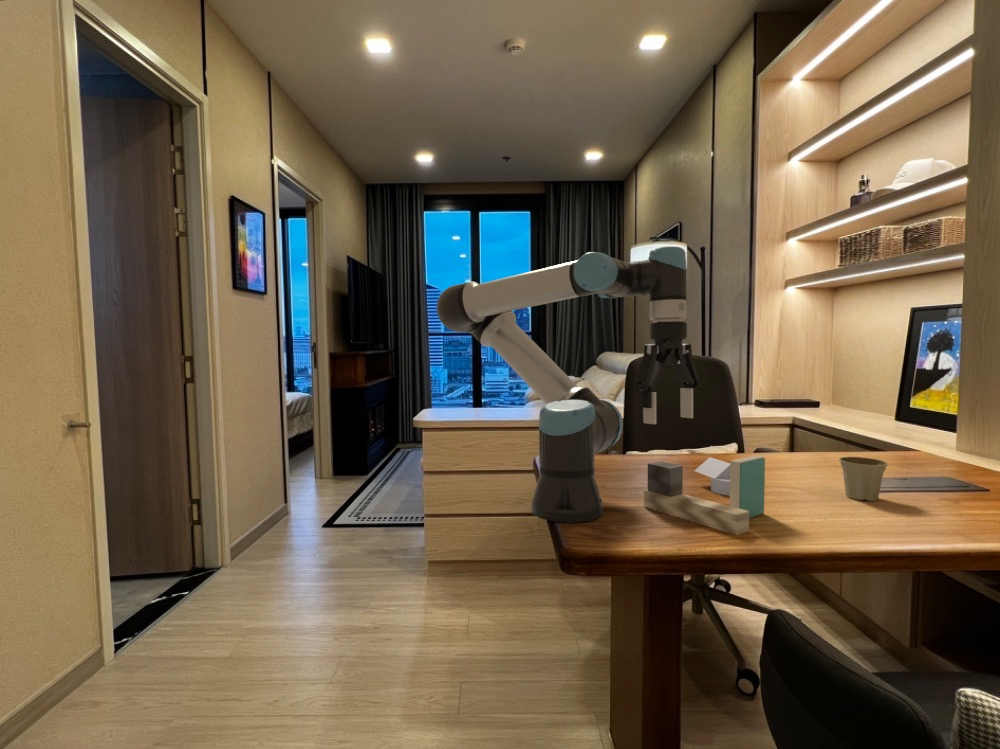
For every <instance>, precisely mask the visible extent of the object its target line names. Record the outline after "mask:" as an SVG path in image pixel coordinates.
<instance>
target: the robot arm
mask: <svg viewBox="0 0 1000 749" xmlns="http://www.w3.org/2000/svg"><path fill="white" fill-rule="evenodd" d="M687 272H688V268H687V255H686V251H685V249H684V248H682V247H680V246H660V247H656V248H653V249H651V250H650V252H649V255H648V259H644V260H637V261H635V260H634V261H627V262H626V261H623V260H621V259H617V258H615V257H612V256H610V255H608V254H606V253H604V252H595V251H589V252H586V253H584V254H583V255H581V256H580V257H579V258H578V259H577V260H573V261H568V262H564V263H561V264H556V265H552V266H548V267H545V268H541V269H536V270H532V271H528V272H523V273H520V274H519V273H518V274H516V275H511V276H507V277H503V278H499V279H494V280H491V281H487V282H481V283H478V282H476V281H468V282H464V283H459V284H455V285H451V286H449V287H447V288H445V290H443V291H442V292H441V294H440V295H439V297H438V299H437V302H436V303H437V304H436V313H437V317H438V319H439V321H440V322H441V324H442V325H443V326H444V327H445V328H447V329H448V330H451V331H453V332H456V333H467V334H468V333H469V334H471V335H472V336H474V338H475V339H476V340H477V342H479V343H480V345H482V346H483V347H486V348H487V347H492V349H493V350H494V351H495V352H496V353H497V354H498V355H499V356H500V358H502V360H504V361H505V363H507V364H508V366H509V367H510V368H512V370H513V371H514V372H515V373H516V374H517V375H518V376H519V378H521V380H522V381H523V382H524V383H526V385H527V386H528V387H529V388H530V389H531V390H532V391H533V392H534V394H535V395H537V396H538V398H540V399H541V401H542V402H543V403H544V405H543V406H542V407H541V409H540V411H539V419H538V422H537V424H538V442H539V444H538V445H539V446H538V447H539V448H538V449H539V450H538V451H539V453H538V454H539V459H538V461H539V463H538V464H539V477H538V479H537V483H536V486H535V490H534V494H533V497H532V498H531V503H530V504H531V505H530V506H531V508H530V510H531V513H532V514H533V515H534V516H535V517H537V518H539V519H542V520H546V521H551V522H558V523H584V522H589V521H594V520H596V519H598V518H601V517H602V516H603V513H604V504H603V499H602V497H601V495H600V492H599V491H600V490H599V488H598V484H597V481H596V478H595V477H596V476H595V455H596V454H598V453H601V452H605V451H606V450H609V449H611V448H612V446H614V445H615V444H616V443H617V442H618V441H619V440H620V438H621V436H622V434H623V430H624V423H623V422H624V420H623V416H622V415H621V412H620V411H619V409H618V408H617V406H615V405H614V404H613V403H612V402H610V401H607V400H605V399H600V398H599V397H598V396H597V395H596V393H594V392H593V390H591V389H590V388H589V387H588V386H578V385H577V384H576V383H575V381H573V380H572V379H571V378H570V377H569V376H568V375H567V374H566V372H565V371H563V370H562V369H561V368H560V366H559V365H557V363H555V361H554V360H552V359H551V357H550V356H549V355H548V354H546V352H545V351H544V350H543V349H542V348H541V347H539V345H538V344H537V343H536V342H535V341H534V340H533V339H531V337H530V336H529V335H528V334H527V333H526V332H525V331H524V330H523V329H522V328H521V327H520V326H519V325H518V324H517V323H516V322H517V316H516V314H515V312H514V311H516V310H522V309H527V308H532V307H536V306H537V307H538V306H541V305H546V304H550V303H556V302H559V301H564V300H565V301H566V300H570V299H573V298H574V299H575V298H578V297H579V298H580V297H585V296H587V297H588V296H590V295H595V294H597V296H598V297H599V298H600V299H601V298H602V299H616V298H624V297H625V298H626V297H637V296H649V320H650V321H652V322H651V323H650V324H649V338H650V340H652V341H654V343H645V344H644V346H643V348H644V349H643V356H642V360H641V362H640V363H641V364H640V367H639V371H638V375H637V377H636V380H635V384H634V389H636V390H637V392H638V393H641V394H642V395H641V396H642V398H641V399H642V402H641V403H642V410H643V411H642V416H643V417H642V420H643V421H642V422H643V424H649V425H657V392H656V391H655V392H654V390H655V388H656V386H657V383H658V382H659V380H660V378H661V375H662V374H663V372H664V369H665V368H666V367H668V366H671V367H672V368H673V370H674V372H675V373H676V376H677V378H678V380H679V382H680V383H681V386H682V387H680V392H679V394H680V396H679V397H680V406H679V407H680V418H685V419H694V389H698V388H699V385H700V383H701V381H700V378H699V374H698V370H697V367H696V364H695V360H694V357H693V354H692V353H693V352H692V344H691V343H683V340H686V339H687V338H688V324H687V322H686V321H685V320H686V319H687V314H688V313H687V310H688V309H687V307H688V304H687V280H688V279H687V278H688V276H687V274H688V273H687Z"/></svg>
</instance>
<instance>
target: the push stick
mask: <svg viewBox="0 0 1000 749" xmlns="http://www.w3.org/2000/svg"><path fill="white" fill-rule="evenodd" d="M683 470H684V469H683V465H679V464H674V463H671V462H670V463H669V462H666V461H655V462H649V463H647V489H646V488H645V489H644V490H643V507H644V506H645V507H644V508H646V507H649V508H652V509H656V510H658V511H657V512H659V511H661V512H660V513H662V512H664V513H663V514H665V513H667V514H666V515H669V514H671V515H670V516H672V515H674V516H673V517H675V516H677V517H676V518H678V517H680V518H679V519H682V518H683V520H685V519H686V521H688V520H689V522H691V523H695V522H696V524H699V525H701V526H702V525H703V526H705V527H709V528H711V529H716V530H717V531H718V530H719V531H721V532H725V533H728V534H731V535H734V536H738V535H742V534H744V533H746V532H749V531H750V518H749V511H747V510H743V509H739V508H735V507H731V506H730V505H727V504H724V503H723V504H722V503H719V502H715V501H713V500H712V501H710V500H709V499H708V500H707V499H703V498H699V497H696V496H692V495H688V494H684V493H683V486H684V485H683V474H684V473H683V472H684V471H683ZM649 508H648V509H649ZM652 509H651V510H652Z"/></svg>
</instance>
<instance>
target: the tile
mask: <svg viewBox="0 0 1000 749" xmlns="http://www.w3.org/2000/svg"><path fill="white" fill-rule="evenodd" d="M729 463H730V496H729V506H731V507H735V508H739V509H743V510H747V511H749V519H751V518H755V517H757V516H760V515H764V514H765V484H766V483H765V481H766V480H765V478H766V477H765V475H766V474H765V473H766V458H765V457H764V456H762V455H761V456H760V455H755V454H754V455H751V456H746V457H745V456H744V457H742V458H736V459H732V460H730V461H729Z"/></svg>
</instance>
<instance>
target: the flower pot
mask: <svg viewBox="0 0 1000 749" xmlns="http://www.w3.org/2000/svg"><path fill="white" fill-rule="evenodd" d="M838 461H839V462H840V466H841V467H842V476H843V482H844V490H845V495H846V497H848V498H850V499H853V500H857V501H864V500H866V501H868V502H874V501H877V500H879V495H880V490H881V486H882V481H883V476H884V473H885V471H886V469H887V466H889V463H888V462H887V461H885V460H881V459H878V458H877V459H876V458H870V457H862V456H841V457H839V458H838Z"/></svg>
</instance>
